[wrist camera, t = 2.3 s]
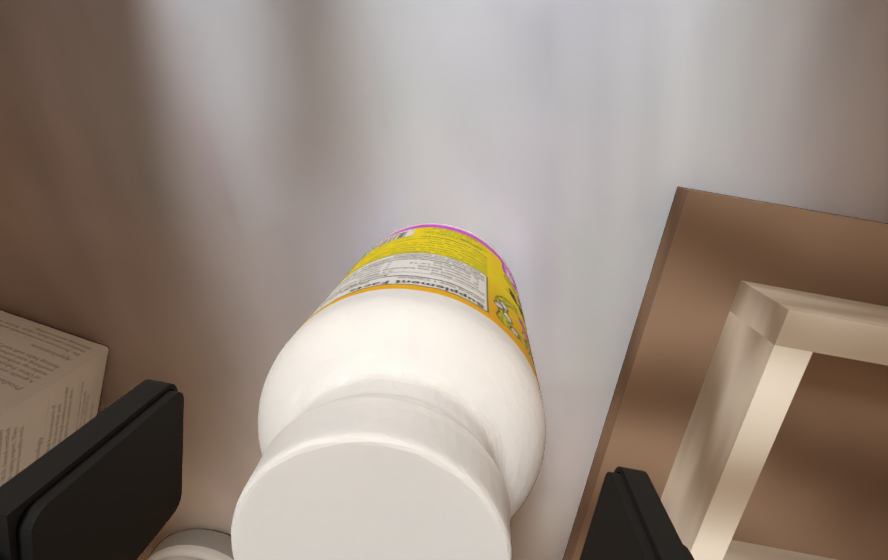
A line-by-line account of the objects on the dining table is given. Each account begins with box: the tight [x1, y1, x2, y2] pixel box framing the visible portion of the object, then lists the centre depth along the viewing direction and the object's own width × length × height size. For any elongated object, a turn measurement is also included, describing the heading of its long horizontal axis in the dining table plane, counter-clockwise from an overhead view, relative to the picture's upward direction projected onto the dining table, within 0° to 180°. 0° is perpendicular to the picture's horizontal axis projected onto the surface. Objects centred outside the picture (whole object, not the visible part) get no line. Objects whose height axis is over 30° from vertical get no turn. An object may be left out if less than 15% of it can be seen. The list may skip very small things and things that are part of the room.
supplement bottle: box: [231, 223, 546, 560], centre depth 14 cm, size 7×7×13 cm
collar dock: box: [563, 187, 888, 560], centre depth 19 cm, size 18×18×4 cm
